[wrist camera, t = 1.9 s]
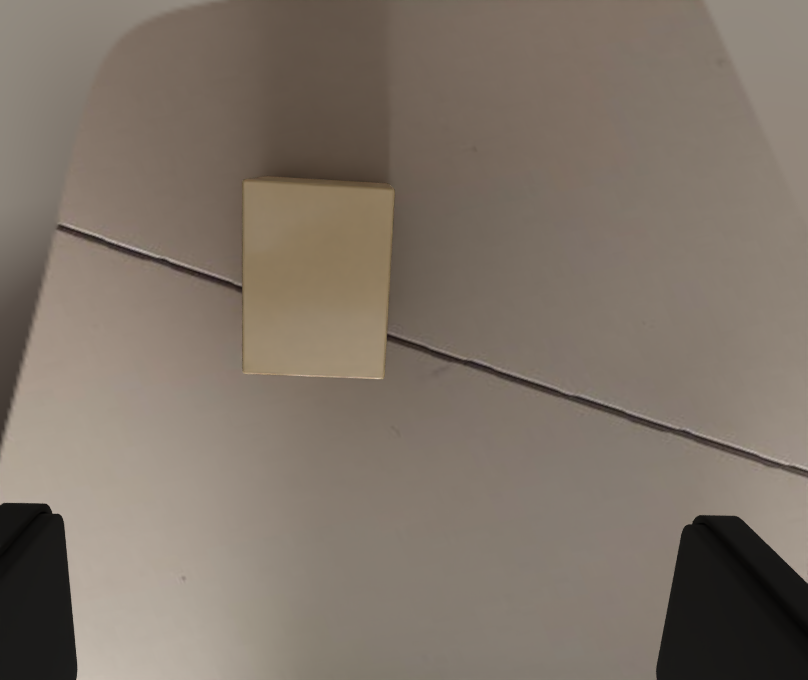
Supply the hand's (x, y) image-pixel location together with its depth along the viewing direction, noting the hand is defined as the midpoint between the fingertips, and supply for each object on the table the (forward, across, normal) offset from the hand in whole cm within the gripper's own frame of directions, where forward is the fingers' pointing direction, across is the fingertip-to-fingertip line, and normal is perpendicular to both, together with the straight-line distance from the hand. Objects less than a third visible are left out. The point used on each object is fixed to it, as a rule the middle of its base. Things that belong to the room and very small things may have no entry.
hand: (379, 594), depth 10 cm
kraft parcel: (+16, +2, -2) cm, 16 cm away
